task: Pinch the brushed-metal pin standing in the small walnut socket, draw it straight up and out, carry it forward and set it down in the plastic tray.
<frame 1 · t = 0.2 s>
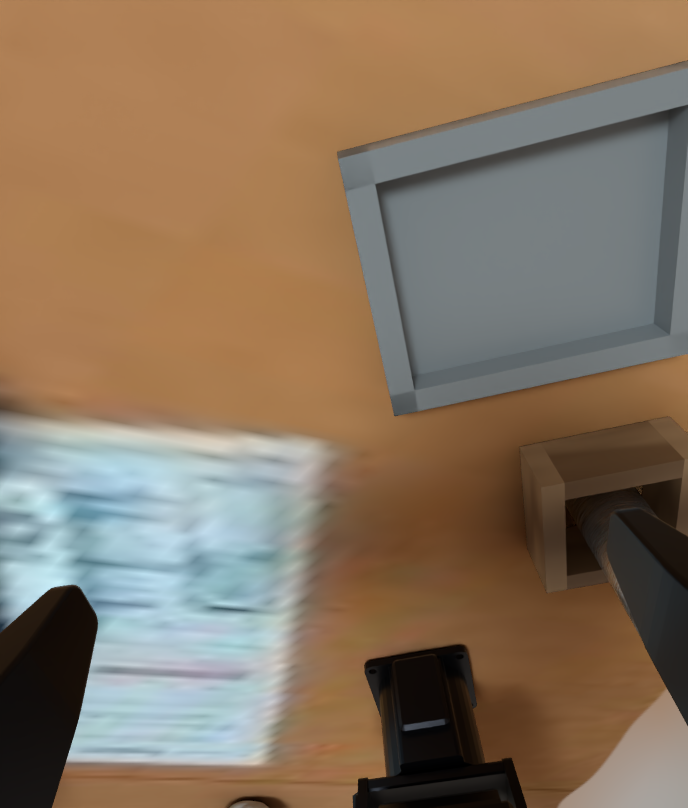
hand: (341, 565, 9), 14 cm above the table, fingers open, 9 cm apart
pin: (643, 563, 23), in the socket
socket: (592, 487, 27), on the table
grey knobbly cluster: (257, 802, 44), on the table
tray: (517, 250, 21), on the table
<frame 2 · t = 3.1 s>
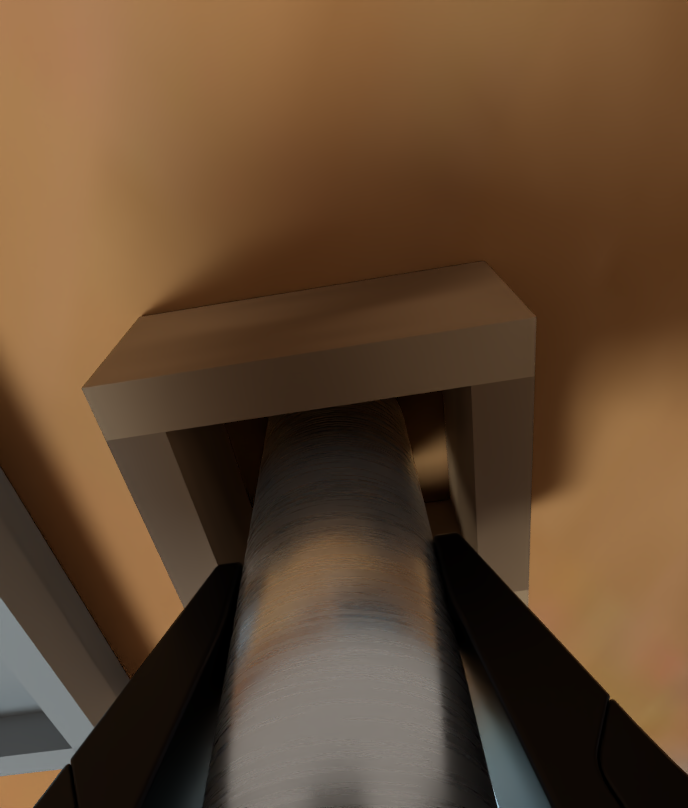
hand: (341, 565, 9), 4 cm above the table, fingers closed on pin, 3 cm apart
pin: (342, 614, 8), in the socket, touching gripper
socket: (337, 433, 12), on the table
when the fingers open (6 cm above the table, at t = 6.7 s): pin stays where it is, resting on tray.
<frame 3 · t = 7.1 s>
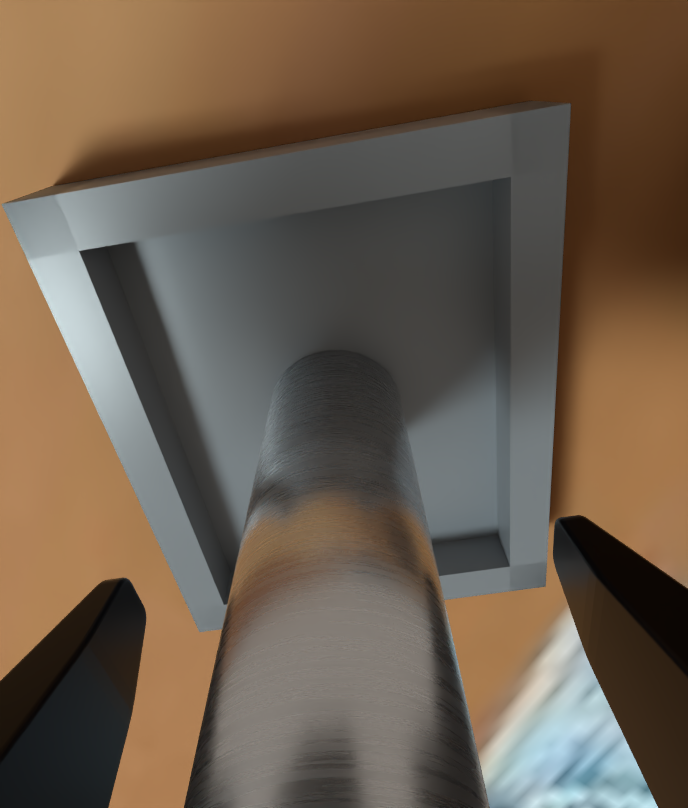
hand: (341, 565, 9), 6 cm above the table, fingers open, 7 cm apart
pin: (336, 560, 9), in the tray, point 6 cm above the table
tray: (333, 395, 14), on the table
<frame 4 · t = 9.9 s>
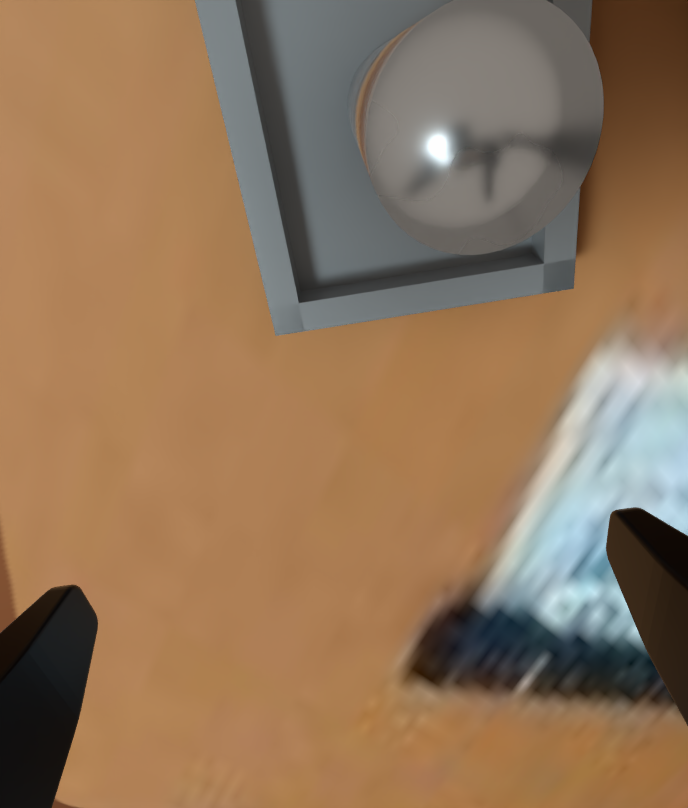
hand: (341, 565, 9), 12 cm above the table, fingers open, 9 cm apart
pin: (427, 115, 12), in the tray, point 6 cm above the table
tray: (396, 108, 17), on the table
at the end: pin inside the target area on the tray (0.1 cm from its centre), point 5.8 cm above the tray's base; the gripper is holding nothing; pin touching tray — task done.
